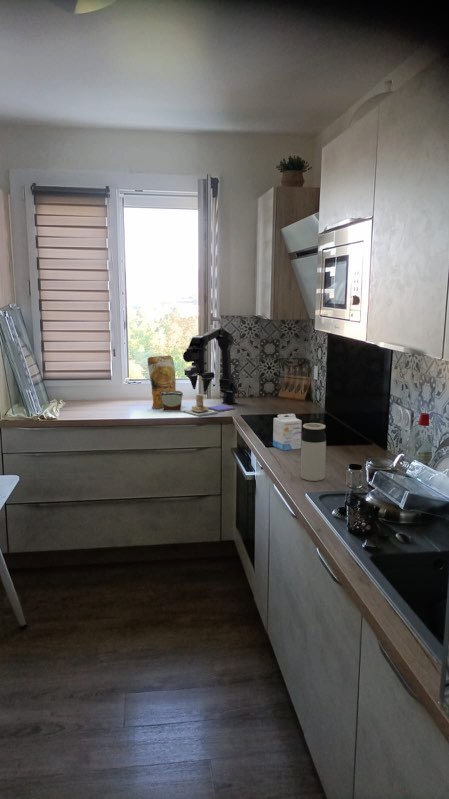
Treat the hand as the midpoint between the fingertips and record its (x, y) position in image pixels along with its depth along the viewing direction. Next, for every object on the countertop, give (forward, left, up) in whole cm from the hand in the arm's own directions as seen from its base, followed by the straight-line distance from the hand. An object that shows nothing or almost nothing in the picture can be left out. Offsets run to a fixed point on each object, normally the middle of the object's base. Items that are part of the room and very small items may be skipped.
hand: (199, 390), depth 285 cm
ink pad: (-14, 0, -12) cm, 19 cm away
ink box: (+14, +76, -12) cm, 78 cm away
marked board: (0, 0, -12) cm, 12 cm away
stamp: (0, 0, -11) cm, 11 cm away
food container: (+6, -16, -12) cm, 21 cm away
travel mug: (+35, +108, -12) cm, 114 cm away
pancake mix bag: (+5, -27, -12) cm, 30 cm away
